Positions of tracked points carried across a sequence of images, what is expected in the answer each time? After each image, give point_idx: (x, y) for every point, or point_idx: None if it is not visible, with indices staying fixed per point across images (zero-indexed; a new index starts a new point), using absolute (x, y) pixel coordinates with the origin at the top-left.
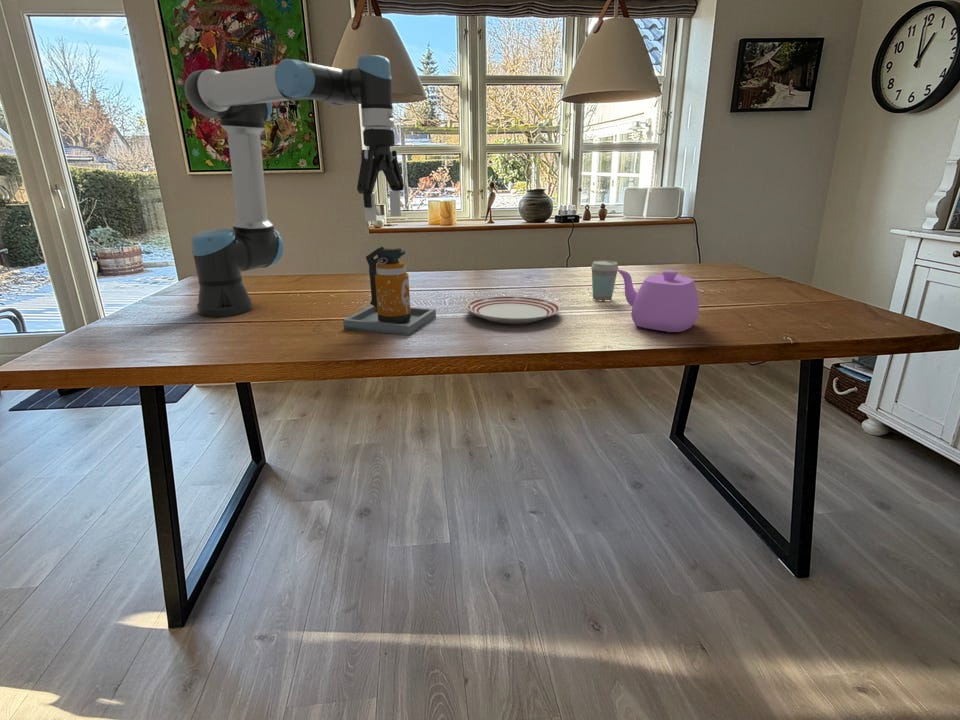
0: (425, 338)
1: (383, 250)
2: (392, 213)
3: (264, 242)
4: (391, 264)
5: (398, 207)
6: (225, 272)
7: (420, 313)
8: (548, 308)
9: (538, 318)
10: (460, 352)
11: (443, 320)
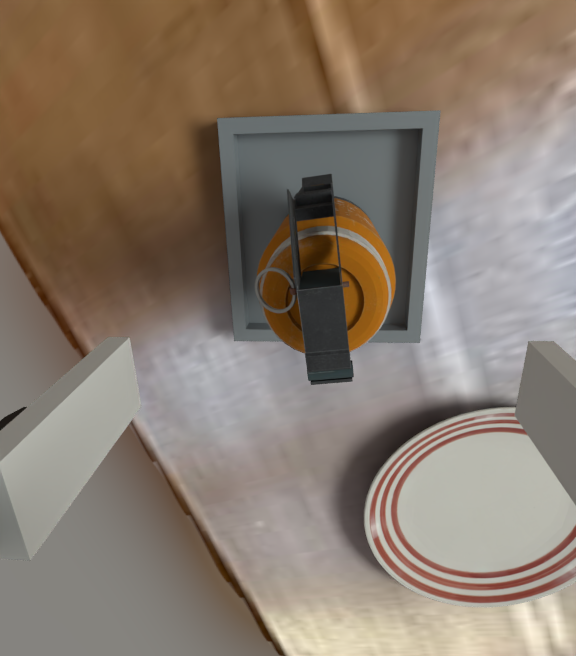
0: (235, 372)
1: (298, 299)
2: (533, 367)
3: None
4: (282, 325)
5: (546, 452)
6: None
7: (407, 294)
8: (529, 573)
9: (398, 576)
10: (182, 463)
11: (393, 360)
